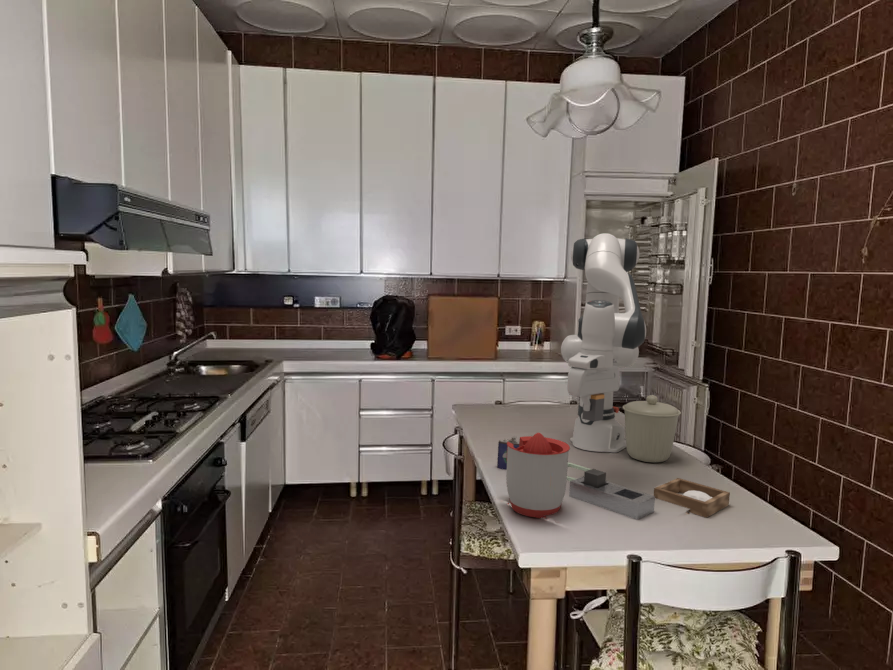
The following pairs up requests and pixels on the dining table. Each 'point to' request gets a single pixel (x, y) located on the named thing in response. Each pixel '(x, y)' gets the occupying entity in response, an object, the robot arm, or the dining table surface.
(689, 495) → the garlic
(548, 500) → the citrus juicer
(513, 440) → the blue box
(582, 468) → the tray
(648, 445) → the canister
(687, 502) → the garlic corral
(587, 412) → the plug
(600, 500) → the grey socket block
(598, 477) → the twin plug
